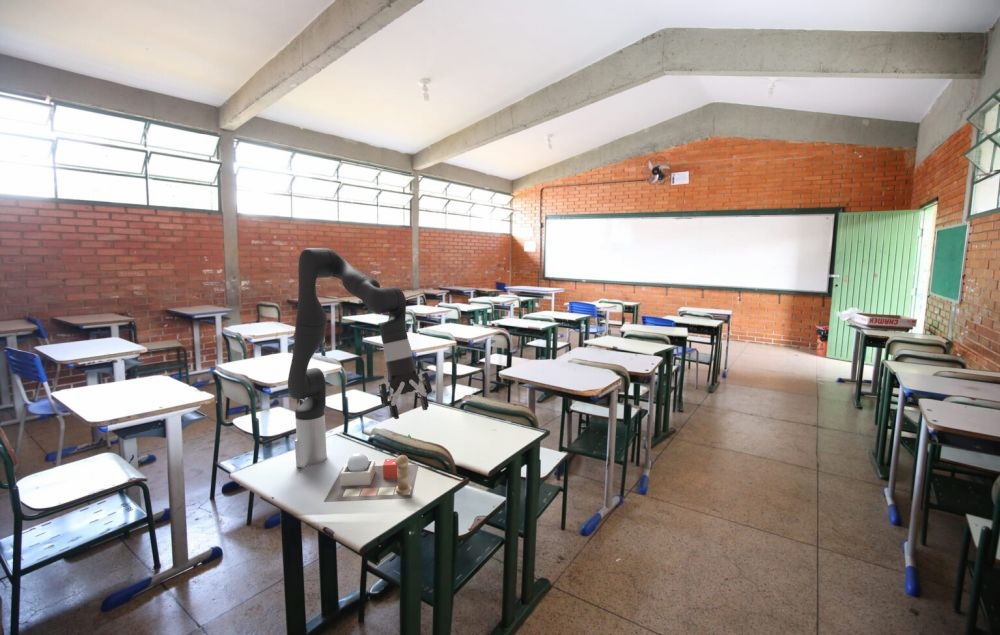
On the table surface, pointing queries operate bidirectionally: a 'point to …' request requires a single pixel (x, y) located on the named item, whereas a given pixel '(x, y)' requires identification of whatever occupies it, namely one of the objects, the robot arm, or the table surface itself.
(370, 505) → the table surface
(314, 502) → the table surface
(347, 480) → the housing
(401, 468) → the pawn
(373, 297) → the robot arm
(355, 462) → the white ball
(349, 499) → the board
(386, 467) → the die
